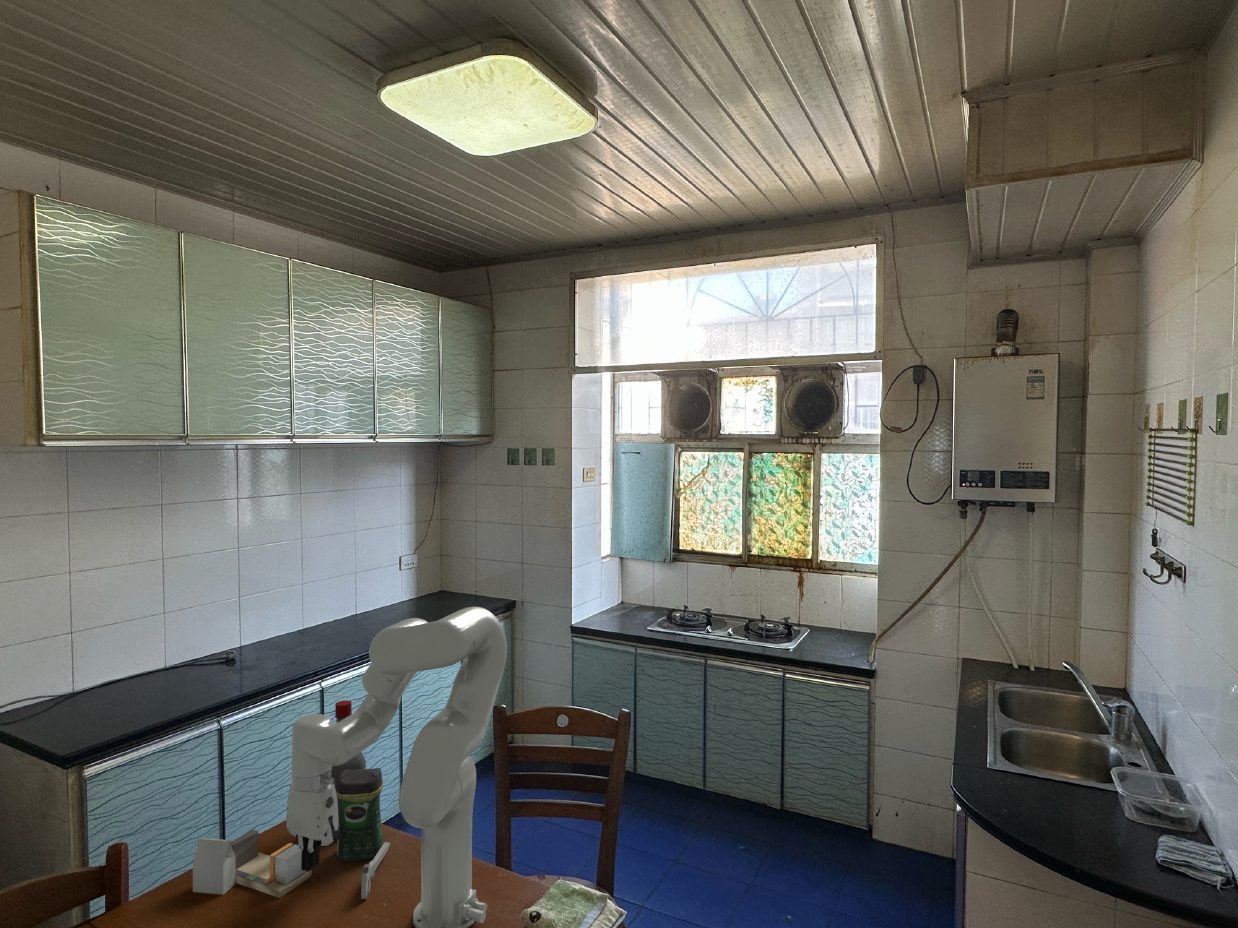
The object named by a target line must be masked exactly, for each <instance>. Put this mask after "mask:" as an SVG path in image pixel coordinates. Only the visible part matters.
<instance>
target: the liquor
mask: <svg viewBox="0 0 1238 928" xmlns="http://www.w3.org/2000/svg"><path fill="white" fill-rule="evenodd" d="M352 702H353V701H352V700H347V699H346V700H339V701H337V702H335V705H334V706H335V708H334V709H335V710H334V711H335V713H334V714H335V715H334V717H335V718H336V723H338V722H340V721H342V720H343V719H345V718H346V717H348V716H350V715H352V714H353V713H352V709H353V708H352ZM362 752H363V751H362ZM362 752H360V753H359V754H358V755H356V756H355V757H354V758H352V759H351V760H349V761H348V762H346V763H345V764H342V765H339V766H332V778H333V779H334V781H333V783H332V784H334V785H335V789H336V795H337V786H338V780H339V777H340V775H341V773H342V772H343V771H344V770H345V769H347V770H357V769H367V761H366V759H365V755H364V754H363V753H362ZM337 802H338V830H337V831H335V832H332V837H333V839H334V840H335V839H338V833H339V821H340V804H339V800H338V798H337Z"/></svg>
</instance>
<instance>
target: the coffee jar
mask: <svg viewBox="0 0 1238 928" xmlns="http://www.w3.org/2000/svg"><path fill="white" fill-rule="evenodd" d="M383 781H384V780H383V774H382V770H381V768H380V767H376V768H366V769H357V770H347V769H345V770H344V771H343V772H342V773H341V775H340V777H339V780H338V786H337V798H338V800H339V804H340V821H339V833H338V838H337V844H336V845H337V846H336V856H337V858H338V859H339V860H341V861H347V862H348V861H350V862H352V861H363V860H370V859H374V858H375V856H376V855H377V853H378V851H379V850H380V848H381V847H382V845H383V844H384V834H383V833H384V832H383V825H382V823H383V822H382V817H381V816H382V815H381V803H380V801H381V800H380V799H381V793H382V791H383V787H384V786H383V785H384V782H383Z"/></svg>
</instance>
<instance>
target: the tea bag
mask: <svg viewBox="0 0 1238 928" xmlns="http://www.w3.org/2000/svg"><path fill="white" fill-rule="evenodd" d="M231 842H232V841H231V840H230V839H220V838H219V839H218V838H209V837H208V838H205V837H200V838H198V843H197V847H196V850H195V851H196V852H195V854H194V857H193V861H192V892H193V893H200V894H201V893H203V894H209V895H210V894H211V895H213V894H214V895H225V894H227V892H229V890H230V889H232V888H233V887H234V886H235V885H236V883H235V853H234V851H233V849H232V846H231Z"/></svg>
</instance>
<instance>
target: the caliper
mask: <svg viewBox="0 0 1238 928" xmlns="http://www.w3.org/2000/svg"><path fill="white" fill-rule="evenodd" d="M390 845H391V843H390V842H387V841H386V842H385V841H383V845H382V847H381V848H380V850H379V851H378V853H377V855H376V856H375V857H373V858H372V860H370V861H369V863H368V864H364V866H363V867H362V868H363V869H362V874H361V885H360V886H361V889H360V890H361V895H360V898H361V900H368V896H369V895H370V892H371V891H370V890H371V884H372V883H371V882H372V881H371V880H372V878H374V876H375V875H376V870H377V869H378V867H379V865H380V863H381V862H382V860H383V859H384V857H385V855H386V854H387V853H388V850H389V847H390Z"/></svg>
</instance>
